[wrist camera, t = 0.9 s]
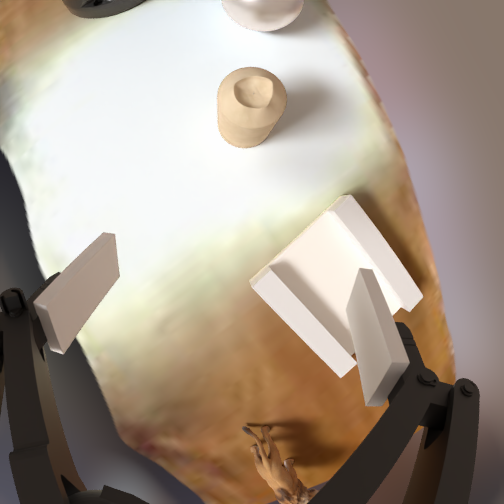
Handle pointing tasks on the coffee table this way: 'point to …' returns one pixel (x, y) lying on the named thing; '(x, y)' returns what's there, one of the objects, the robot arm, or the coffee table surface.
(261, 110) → the candle
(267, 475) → the lion figurine
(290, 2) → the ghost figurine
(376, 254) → the tray
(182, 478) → the coffee table surface
